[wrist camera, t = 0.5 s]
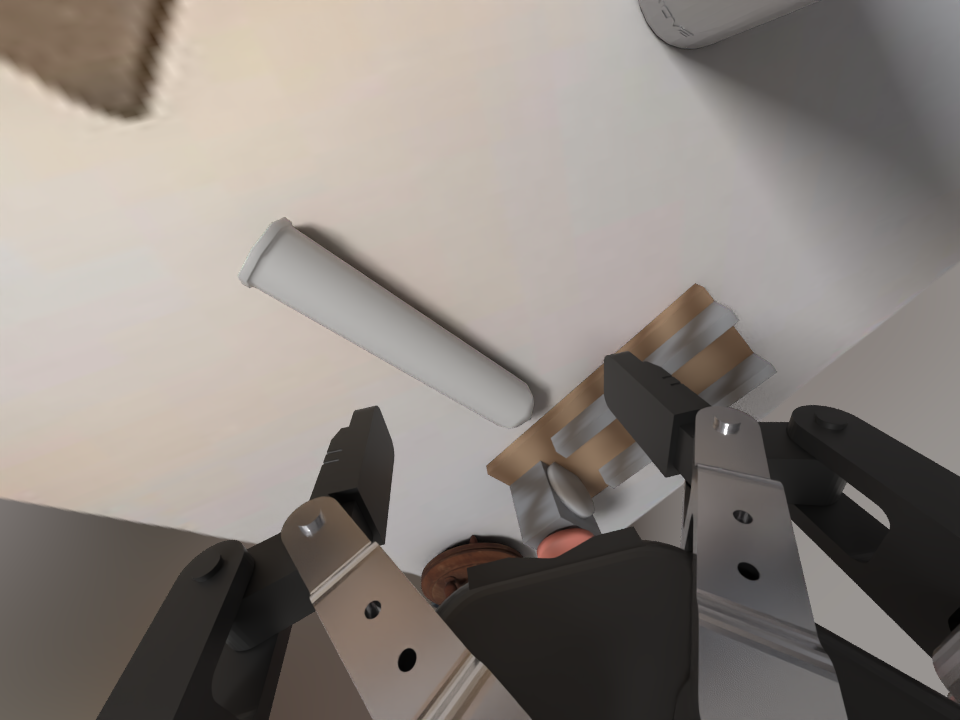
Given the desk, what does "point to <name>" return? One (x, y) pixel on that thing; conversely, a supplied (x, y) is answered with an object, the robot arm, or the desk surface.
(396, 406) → the desk surface
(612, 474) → the pipe rack
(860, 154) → the desk surface
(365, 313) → the tube
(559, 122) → the desk surface
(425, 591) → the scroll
